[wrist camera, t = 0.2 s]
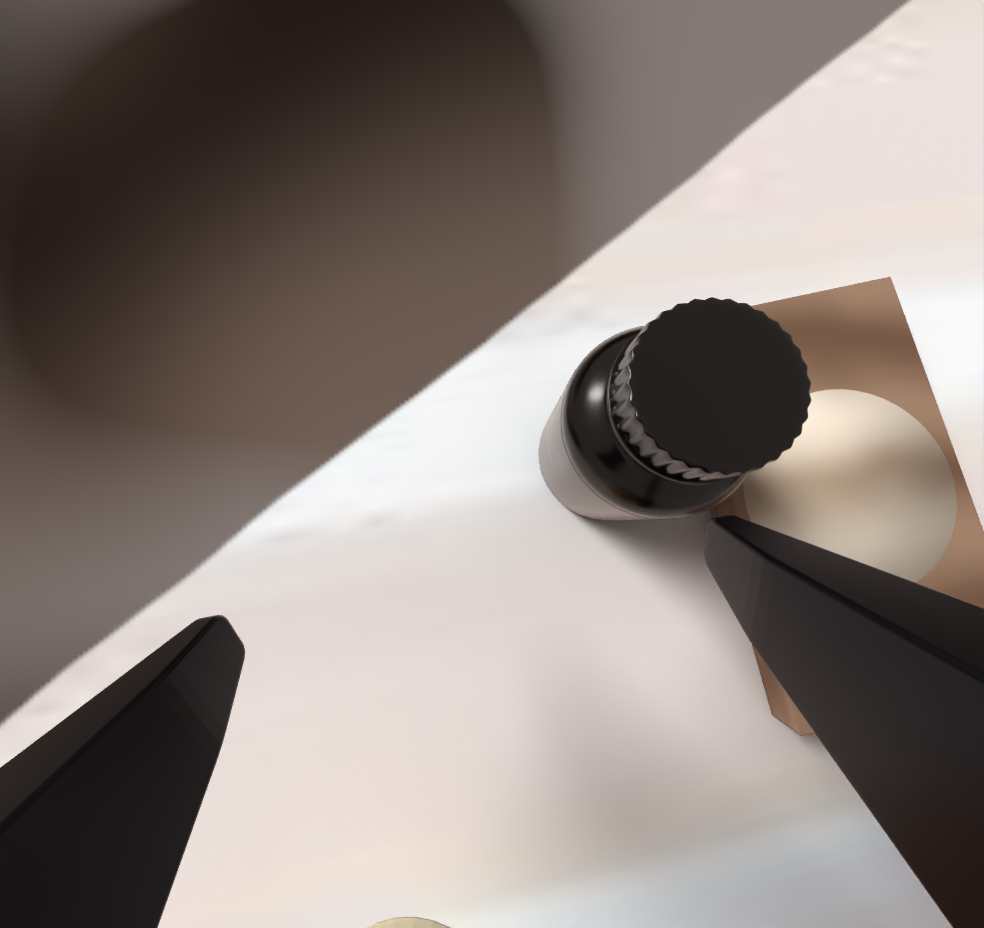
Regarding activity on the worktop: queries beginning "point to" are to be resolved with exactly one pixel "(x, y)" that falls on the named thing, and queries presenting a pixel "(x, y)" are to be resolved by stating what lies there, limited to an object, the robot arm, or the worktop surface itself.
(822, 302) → the walnut plinth
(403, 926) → the reusable coffee cup
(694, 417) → the supplement bottle
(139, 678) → the robot arm
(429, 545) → the worktop surface
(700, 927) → the worktop surface
